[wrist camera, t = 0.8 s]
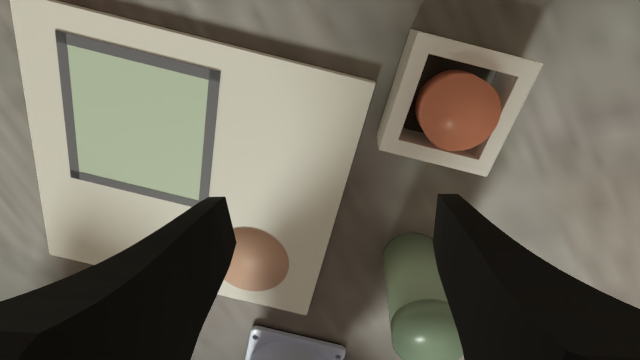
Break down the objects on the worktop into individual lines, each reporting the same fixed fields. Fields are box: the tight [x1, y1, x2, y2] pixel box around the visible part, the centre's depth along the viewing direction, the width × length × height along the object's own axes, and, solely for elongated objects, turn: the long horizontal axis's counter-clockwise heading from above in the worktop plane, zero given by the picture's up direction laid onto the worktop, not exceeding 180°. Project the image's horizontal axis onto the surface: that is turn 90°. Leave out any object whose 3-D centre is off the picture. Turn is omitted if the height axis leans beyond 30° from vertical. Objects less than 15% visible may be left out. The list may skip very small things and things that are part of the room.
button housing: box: [376, 29, 543, 177], centre depth 19 cm, size 6×6×2 cm
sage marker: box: [383, 233, 464, 360], centre depth 22 cm, size 4×4×7 cm
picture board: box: [10, 0, 376, 316], centre depth 23 cm, size 18×20×1 cm
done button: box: [415, 69, 501, 151], centre depth 17 cm, size 4×4×2 cm
